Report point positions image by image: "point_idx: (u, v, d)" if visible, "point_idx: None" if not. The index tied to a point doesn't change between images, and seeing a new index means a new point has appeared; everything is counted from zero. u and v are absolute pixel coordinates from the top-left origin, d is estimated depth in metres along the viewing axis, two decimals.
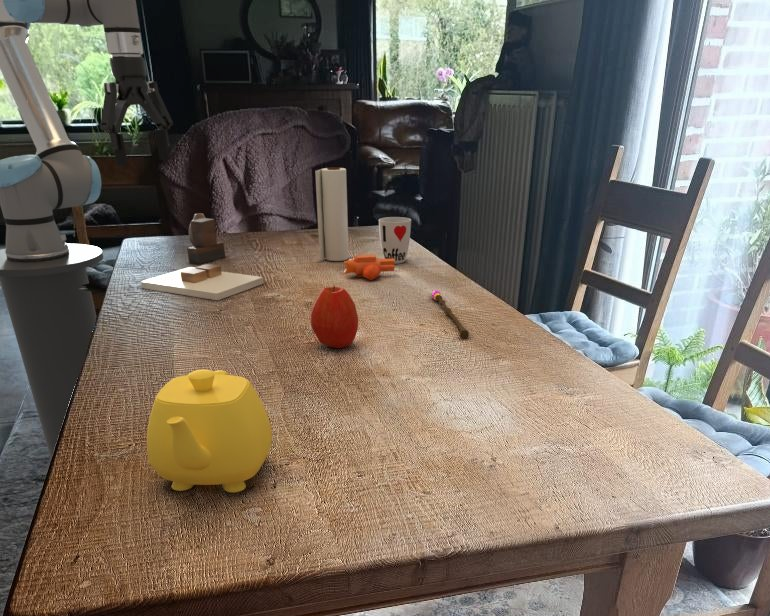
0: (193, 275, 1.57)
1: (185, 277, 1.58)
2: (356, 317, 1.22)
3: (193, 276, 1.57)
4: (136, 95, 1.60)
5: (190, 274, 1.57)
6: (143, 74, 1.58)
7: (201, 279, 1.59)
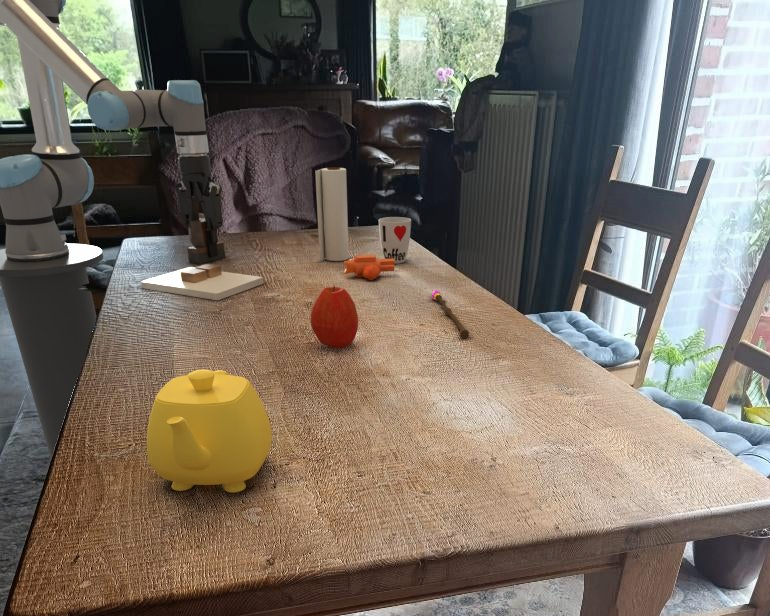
0: (193, 275, 1.57)
1: (185, 277, 1.58)
2: (356, 317, 1.22)
3: (193, 276, 1.57)
4: (194, 189, 1.74)
5: (190, 274, 1.57)
6: (187, 172, 1.70)
7: (201, 279, 1.59)
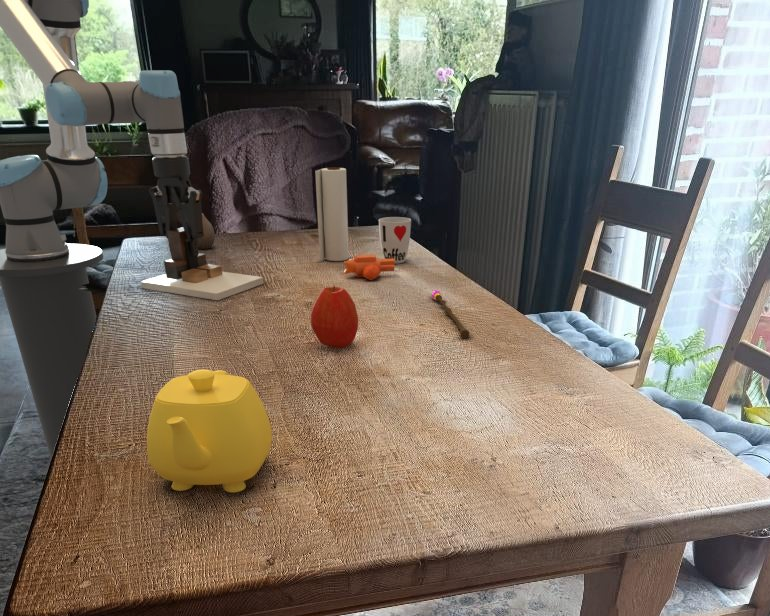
0: (194, 275, 1.56)
1: (186, 277, 1.58)
2: (356, 317, 1.22)
3: (194, 276, 1.57)
4: (171, 194, 1.53)
5: (191, 274, 1.57)
6: (162, 175, 1.49)
7: (202, 279, 1.59)
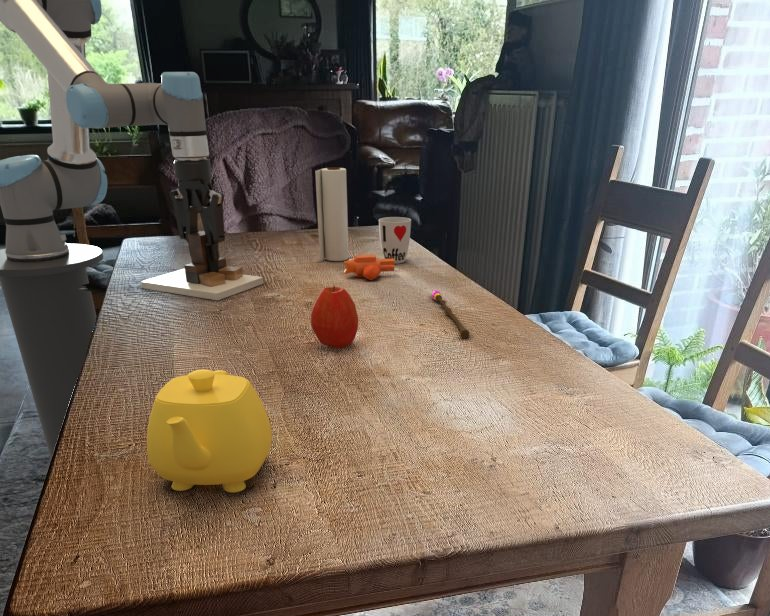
0: (209, 279, 1.54)
1: (202, 280, 1.55)
2: (356, 317, 1.22)
3: (209, 280, 1.54)
4: (192, 197, 1.51)
5: (206, 278, 1.54)
6: (184, 179, 1.47)
7: (218, 283, 1.55)
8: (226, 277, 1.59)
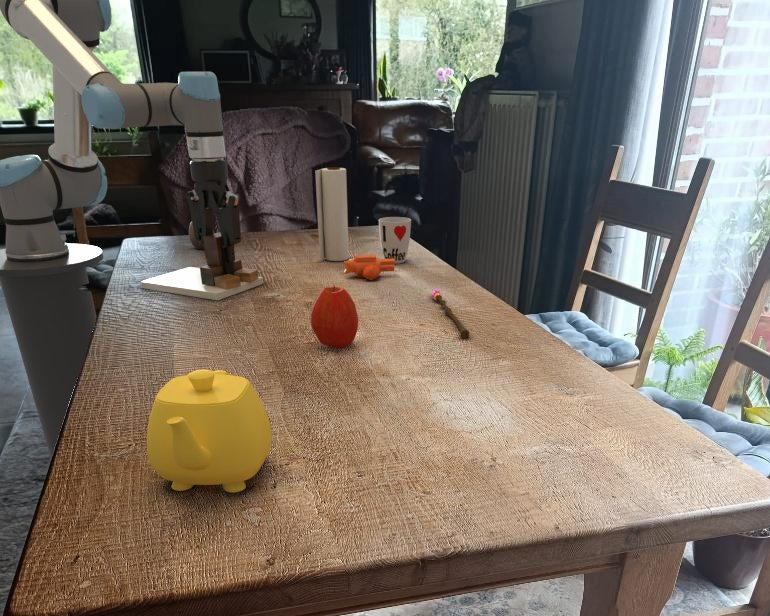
0: (224, 281, 1.52)
1: (218, 283, 1.53)
2: (356, 317, 1.22)
3: (224, 282, 1.52)
4: (209, 199, 1.49)
5: (222, 280, 1.52)
6: (201, 180, 1.45)
7: (234, 286, 1.53)
8: (242, 279, 1.58)
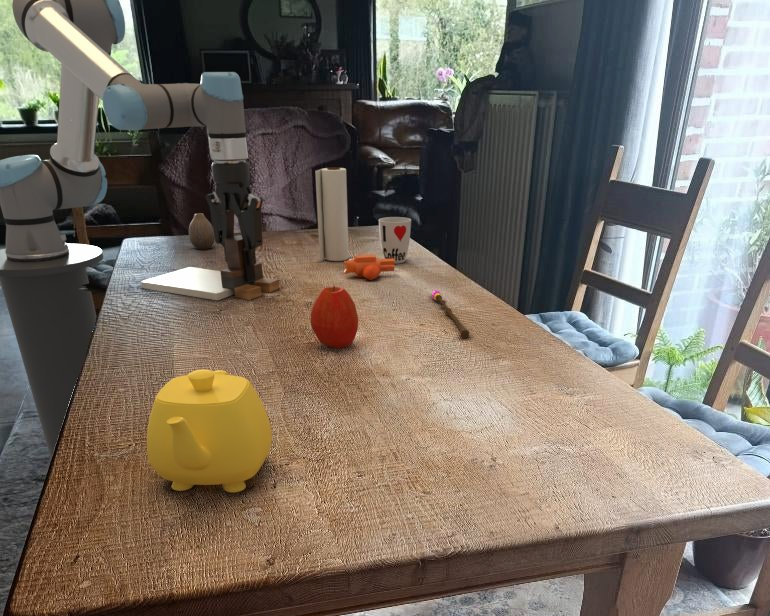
0: (247, 292, 1.50)
1: (239, 293, 1.52)
2: (356, 317, 1.22)
3: (247, 293, 1.50)
4: (230, 201, 1.47)
5: (244, 290, 1.50)
6: (223, 182, 1.42)
7: (255, 296, 1.52)
8: (261, 289, 1.56)
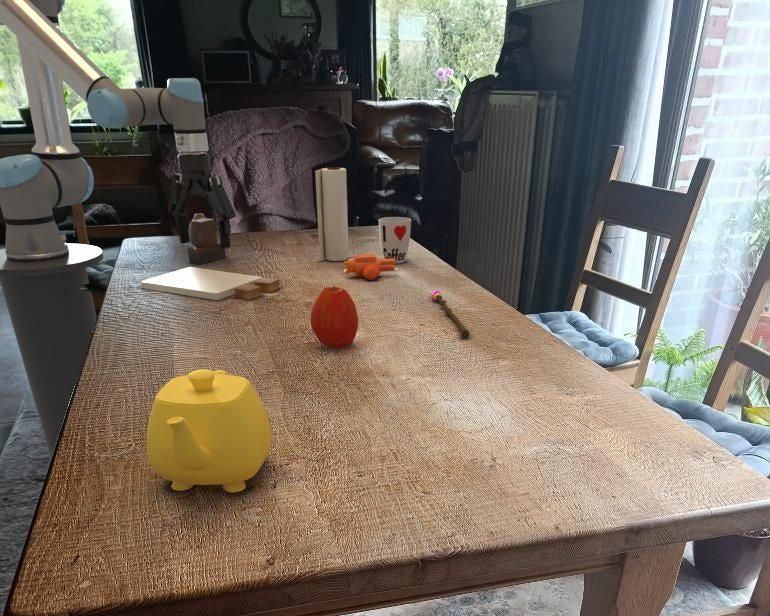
0: (247, 292, 1.50)
1: (239, 293, 1.52)
2: (356, 317, 1.22)
3: (247, 293, 1.50)
4: (194, 187, 1.74)
5: (244, 290, 1.50)
6: (187, 170, 1.69)
7: (255, 296, 1.52)
8: (261, 289, 1.56)
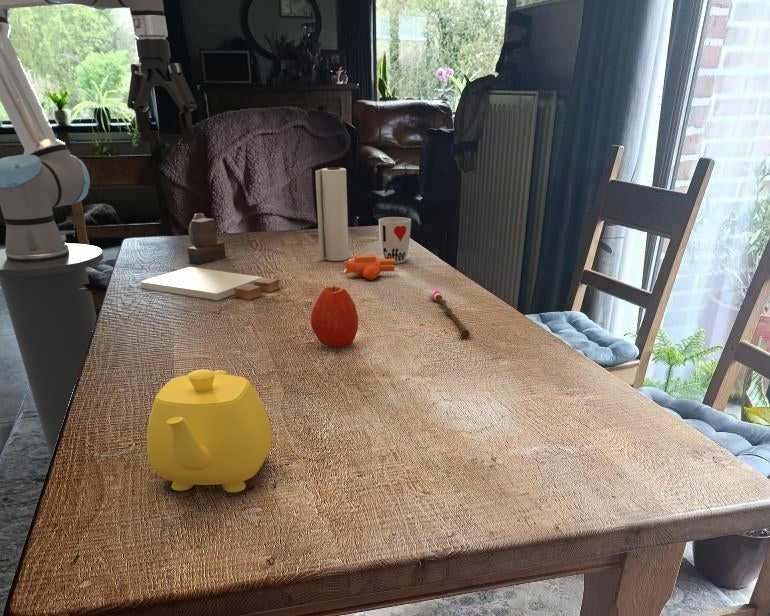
0: (247, 292, 1.50)
1: (239, 293, 1.52)
2: (356, 317, 1.22)
3: (247, 293, 1.50)
4: (153, 77, 1.66)
5: (244, 290, 1.50)
6: (145, 56, 1.62)
7: (255, 296, 1.52)
8: (261, 289, 1.56)
